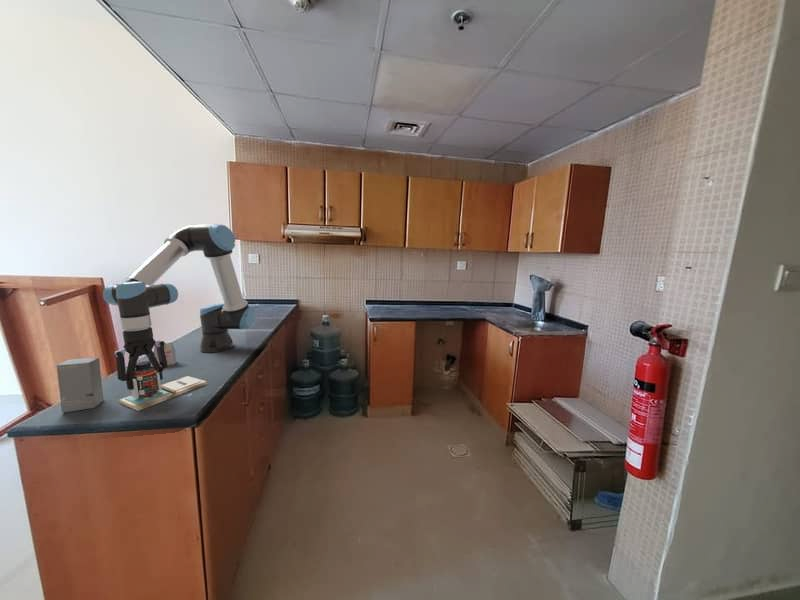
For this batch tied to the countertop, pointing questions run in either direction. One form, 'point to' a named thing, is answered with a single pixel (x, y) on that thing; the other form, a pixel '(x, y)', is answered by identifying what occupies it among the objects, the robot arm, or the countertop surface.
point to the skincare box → (80, 384)
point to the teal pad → (148, 398)
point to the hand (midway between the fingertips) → (147, 393)
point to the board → (163, 398)
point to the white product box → (167, 353)
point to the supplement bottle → (145, 379)
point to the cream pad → (181, 383)
